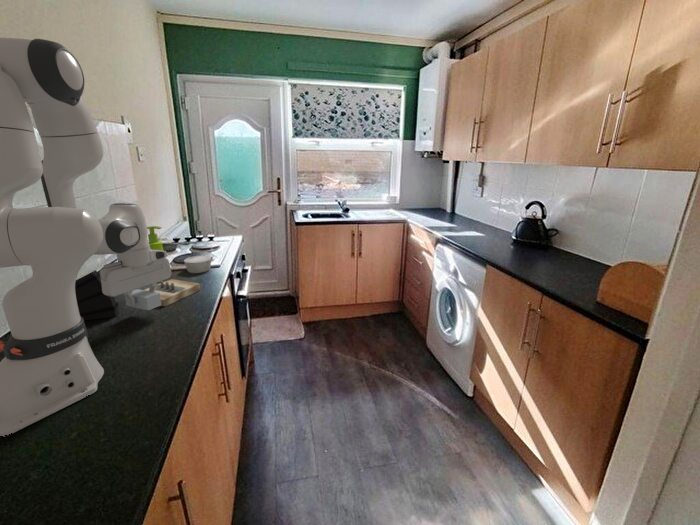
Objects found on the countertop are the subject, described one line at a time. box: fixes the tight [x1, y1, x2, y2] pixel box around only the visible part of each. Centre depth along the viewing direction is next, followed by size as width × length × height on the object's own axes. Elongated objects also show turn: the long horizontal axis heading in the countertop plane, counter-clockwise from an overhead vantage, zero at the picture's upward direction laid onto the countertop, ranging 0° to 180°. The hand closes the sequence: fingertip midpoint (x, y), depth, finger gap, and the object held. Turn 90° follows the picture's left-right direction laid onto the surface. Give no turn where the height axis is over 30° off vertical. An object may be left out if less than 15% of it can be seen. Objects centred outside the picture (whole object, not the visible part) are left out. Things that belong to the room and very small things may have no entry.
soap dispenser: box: [147, 225, 164, 251], centre depth 145 cm, size 6×7×20 cm
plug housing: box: [124, 288, 162, 311], centre depth 105 cm, size 10×4×4 cm, turn 67°
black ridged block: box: [75, 269, 120, 321], centre depth 105 cm, size 4×13×15 cm, turn 107°
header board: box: [144, 278, 202, 307], centre depth 123 cm, size 16×14×5 cm
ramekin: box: [183, 255, 212, 274], centre depth 150 cm, size 11×11×5 cm
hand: (143, 300), depth 106 cm, fingers closed on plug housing, 4 cm apart
